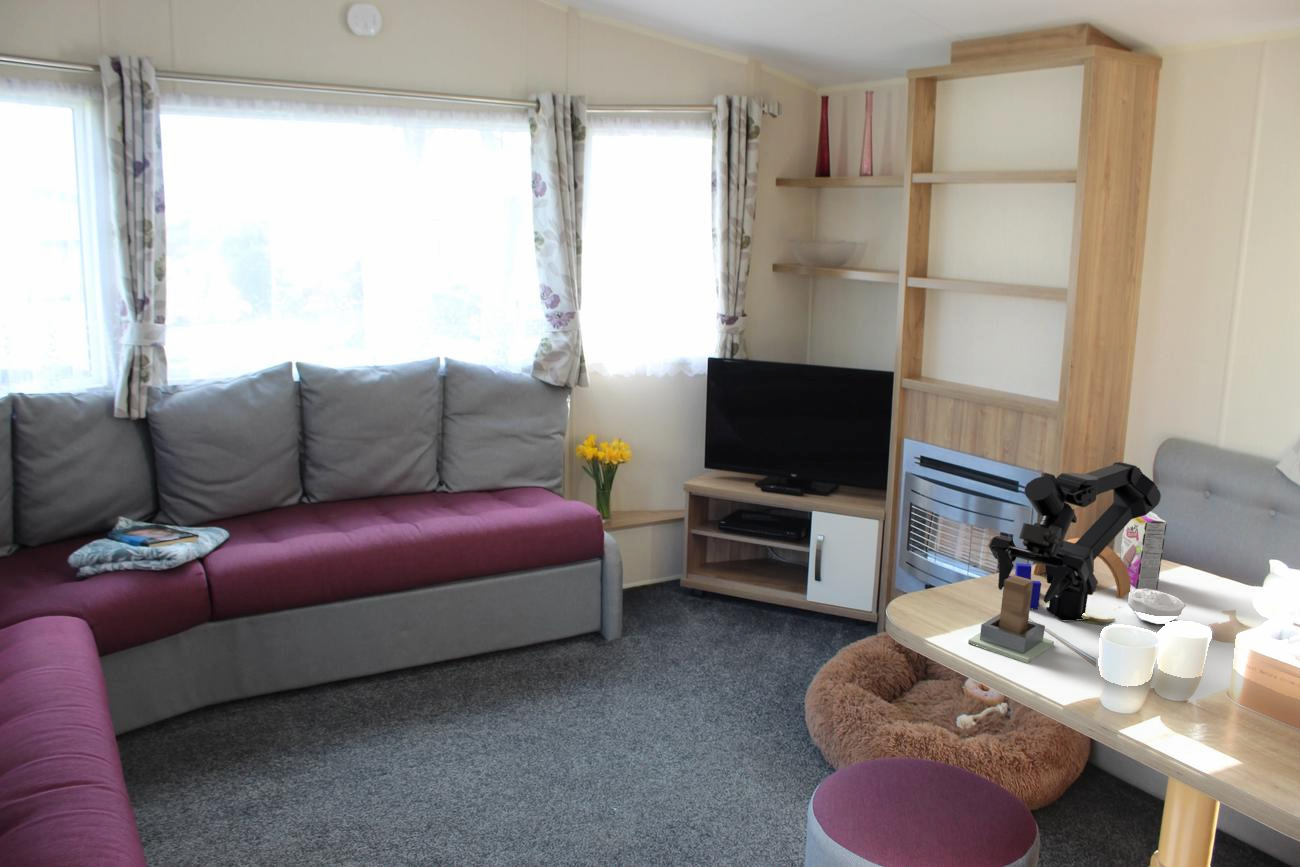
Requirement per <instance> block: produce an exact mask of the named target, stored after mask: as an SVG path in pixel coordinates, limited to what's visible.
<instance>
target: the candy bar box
mask: <svg viewBox="0 0 1300 867" xmlns="http://www.w3.org/2000/svg"><path fill="white" fill-rule="evenodd" d="M1167 524H1168V522H1167V521H1166V520H1164V519H1163V518H1162V517H1160V516H1159V515H1158V514H1157V513H1155V512H1154V511H1153V510H1152V511H1150V512H1149V513H1148V514H1147V515H1145V516H1141V517H1138V518H1134V519H1131V520H1130V521H1129V523H1128V524H1127V525H1126V526H1125V527H1124V528H1123V529H1122V530H1123V531H1122V537H1121V538H1122V539H1121V545H1120V551H1119V552H1120V553H1119V557H1120V559H1121V560H1122V562H1123V563H1124V565H1125V567H1126V569H1127V571H1128V574H1129V577H1130V584H1131V586H1132V587H1133V588H1134V589H1146V588H1147V589H1151V590H1156V591H1158V584H1159V580H1160V573H1161V566H1162V559H1163V552H1164V544H1165V538H1166V530H1167Z"/></svg>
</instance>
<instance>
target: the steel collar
mask: <svg viewBox="0 0 1300 867" xmlns="http://www.w3.org/2000/svg"><path fill="white" fill-rule="evenodd" d="M1000 614H1001V612H1000V613H998V614H997V615H995V616H994V617H992V618H989V620H987V621H985V622H983V623H982V624H980V632H979V633H980V640H982V641H985V642H988V643H991V644H994V645H997V646H1000V647H1003V648H1006V649H1009V650H1012V651H1015V652H1018V653H1021V654H1024V653H1026V652H1027V651H1029V650H1030V649H1032V648H1033V647H1035V646H1036V645H1038V644H1039V643H1041V642H1042V641H1043V638H1044V636H1045V628H1046V626H1045V625H1044V624H1042V623H1037V622H1034V621H1031V620H1028V627H1027V632H1026V633H1024V634H1023V635H1021V634H1018V633H1015V632H1011V631H1008V630H1005V629H1002V628H999V622H1000Z"/></svg>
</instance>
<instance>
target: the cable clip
mask: <svg viewBox="0 0 1300 867" xmlns="http://www.w3.org/2000/svg"><path fill="white" fill-rule="evenodd" d="M1032 567H1033V566H1032V565H1031V564H1030V563H1021V562H1020V563H1019V562H1016V564H1015V571H1014V575H1015V576H1019V577H1023V578H1026V579H1030V580H1032ZM1011 576H1012V575H1009V577H1011ZM1009 577H1008V578H1009ZM1041 588H1042V582H1041V581H1040V580H1033V587H1032V595H1031V603H1030V608H1033V609H1032V610H1039V606H1040V605H1039V604H1040V598H1041V596H1040V595H1041Z"/></svg>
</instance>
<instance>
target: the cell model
mask: <svg viewBox="0 0 1300 867" xmlns="http://www.w3.org/2000/svg"><path fill="white" fill-rule="evenodd" d="M1127 598H1128V599H1127V606H1128V607H1129V608H1130V609H1131V610H1132V612H1134V611H1136V612H1141V613H1145V614H1149V615H1154V616H1178V617H1180V616H1181V615H1182V612H1183V610H1184V609H1185V607H1186V603H1184V601H1182V599H1181V598H1180V597H1179V598H1178V597H1177V596H1175V595H1172V594H1169V593H1166V592H1162V591H1159V590H1151V589H1147V588H1146V589H1136V588H1134V589H1132V590H1130V592H1129V593H1128V597H1127ZM1179 615H1180V616H1179Z"/></svg>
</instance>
